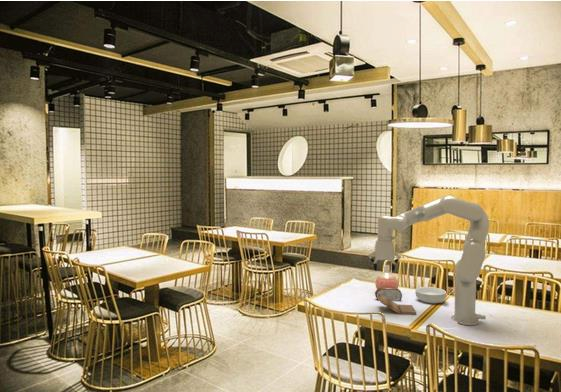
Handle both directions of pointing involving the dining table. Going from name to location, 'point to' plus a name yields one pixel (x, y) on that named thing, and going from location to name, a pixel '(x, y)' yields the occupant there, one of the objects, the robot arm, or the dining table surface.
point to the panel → (389, 303)
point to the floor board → (407, 309)
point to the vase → (386, 279)
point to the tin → (389, 293)
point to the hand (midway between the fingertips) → (384, 270)
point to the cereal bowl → (430, 294)
